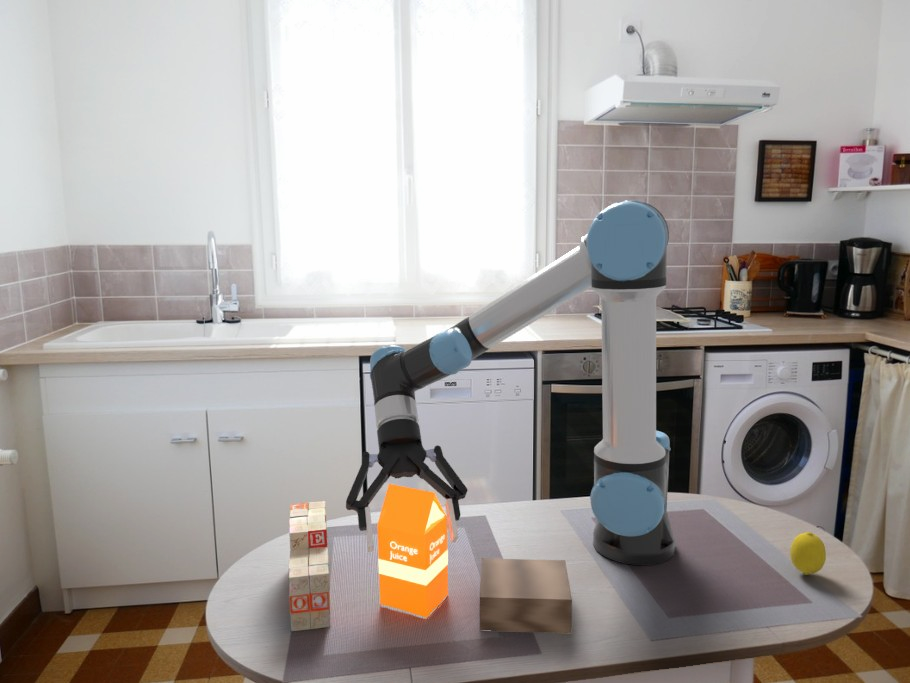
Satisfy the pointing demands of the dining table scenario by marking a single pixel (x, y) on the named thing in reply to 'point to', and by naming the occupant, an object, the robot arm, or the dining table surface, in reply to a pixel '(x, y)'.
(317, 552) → the stack of blocks
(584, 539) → the dining table surface
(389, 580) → the orange juice
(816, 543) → the lemon
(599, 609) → the dining table surface
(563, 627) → the base brick
